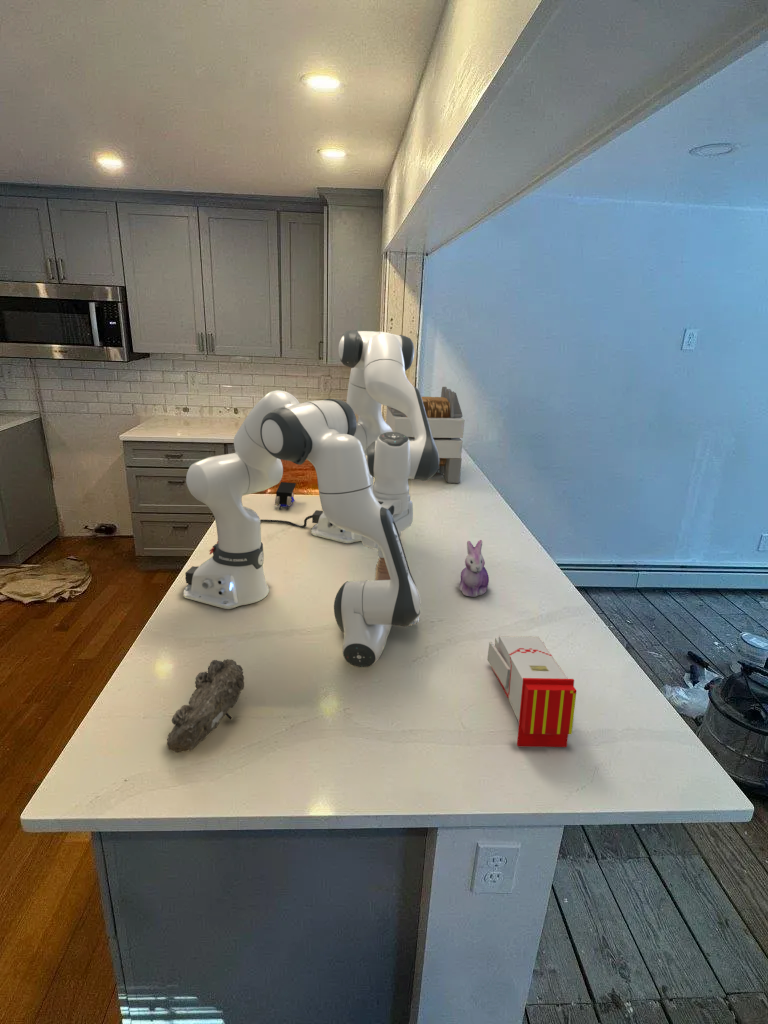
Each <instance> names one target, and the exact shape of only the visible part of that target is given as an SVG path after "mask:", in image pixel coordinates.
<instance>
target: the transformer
mask: <svg viewBox="0 0 768 1024" xmlns="http://www.w3.org/2000/svg"><path fill="white" fill-rule="evenodd" d="M440 393H441V394H440V396H421V398H422V401H423V404H424V407H425V411H426V415H427V419H428V423H429V426H430V430H431V434H432V437H433V440H434V442H435V445H436V447H437V451H438V454H439V468H438V471H439V473H440V474H441V475H443V478H444V479H445V481H446V482H447V483H449V484H455V483H456V484H459V483H461V472H462V461H463V460H462V453H463V442H464V441H463V440H462V439H463V438H464V431H465V430H464V429H465V419H464V418H463V411H462V408H461V405H460V402H459V398H458V395H457V392H455V391H453V390H452V389H451V388H447V386H442V387H441V392H440ZM385 414H386V415H385V422H386V423H387V424H388V425H389V426H390V427H391V429H392V431H393V432H397V433H401V434H404V435H405V436H407V437H408V438H409V441H415V438H414V434H413V430H412V426H411V423H410V420H409V418H408V417H407V416H406V415H405V414H404V413H402V412H400V411H398V410H396V409H394V408H391V407H388V406H386V413H385Z"/></svg>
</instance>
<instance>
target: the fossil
mask: <svg viewBox="0 0 768 1024" xmlns="http://www.w3.org/2000/svg"><path fill="white" fill-rule="evenodd" d="M243 670H244V669H243V667H242V665H240V664H237V662H236V661H235V660H234V659H232V658H231V659H227V658H226V659H224V660H223V661H222V660H217V659H212V660H211V661H210V663H209V665H208V666H207V671H201V672H199V673H198V674H197V675H196V676H195V680H194V684H195V685H194V687H195V689H194V690H193V693H192V694H191V697H190V698H189V700H188V704H184V705H182V706H181V707H180V709H177V710H176V711H175V713H174V715H173V716H172V718H171V723H172V724H173V727H172V730H171V731H170V732H168V734H167V738H166V741H167V742H166V745H167V749H168V750H169V751H173V752H174V753H176V754H178V753H182V752H188V751H189V752H192V751H193V750H195V748H196V747H197V746H199V744H200V743H201V742H203V741H204V740H205V739H206V738H207V737H208V736H209V735H210V734H211V733H212V732H214V730H215V729H217V727H218V726H219V724H220V722H221V721H222V720H223V719H224V718H225V716H226V717H227V719H229V720H233V717H232V715H230V714H229V710H230V709H231V708H234V706H235V704H236V703H237V702H238V699H239V697H240V695H241V693H242V691H243V690H245V689H244V688H245V675H244V671H243Z"/></svg>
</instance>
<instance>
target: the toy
mask: <svg viewBox="0 0 768 1024" xmlns="http://www.w3.org/2000/svg"><path fill="white" fill-rule="evenodd" d="M488 643H489V644H488V651H487V658H486V659H487V662H488V664H489V666H490V668H491V669H492V672H493V674H494V675H495V677H496V679H497V681H498V682H499V684H500V687H501V688H502V691H503V692H504V694H505V697H507V699H508V702H509V705H510V706H511V709H512V710H513V713H514V714H515V717H516V720H517V721H518V728H517V729H518V730H517V741H516V746H517V747H520V748H521V747H522V748H523V747H525V748H527V747H529V748H531V747H532V748H533V747H534V748H545V747H546V748H567V747H568V740H569V735H572V733H573V725H574V716H575V708H576V700H577V689H576V687H575V686H574V685H575V679H574V678H569V677H568V676H567V675H566V673H565V672H564V670H563V669H562V668H561V667H560V665H559V663H558V662H557V661H556V659H555V658H554V656H553V654H552V653H551V652H550V650H549V649H548V648H547V646H546V644H545V642H544V641H543V640H542V639H541V638H540V636H534V635H533V636H532V635H530V636H527V635H526V636H525V635H524V636H523V635H498V637H497V636H496V637H494V643H493V641H489V642H488Z"/></svg>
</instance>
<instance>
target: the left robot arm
mask: <svg viewBox="0 0 768 1024" xmlns="http://www.w3.org/2000/svg"><path fill="white" fill-rule="evenodd" d="M356 416H357V415H356V414H355V413H354V411H353V409H352V408H351V407H350V405H349V404H347V402H346V401H345V400H342V399H337V398H336V399H335V398H324V399H321V400H320V399H318V400H309V401H305V402H300V401H299V399H297V398H296V397H295V396H294V395H293V394H292V393H290V392H288V391H285V390H282V389H281V390H280V389H279V390H278V389H277V390H271V391H269V392H268V393H267V394H265V395H264V396H263V397H262V398H261V399H259V401H258V402H257V403H256V404H255V405H254V406H253V408H252V409H250V411H249V412H248V414H247V416H246V417H245V418H244V420H243V422H242V424H241V425H240V426H239V428H238V430H237V432H236V433H235V434H234V437H233V448H234V452H232V453H226V454H220V455H214V456H209V457H205V458H203V459H202V460H199V461H195V462H194V463H192V464H190V466H189V467H188V470H187V472H186V478H185V482H186V483H185V484H186V487H187V489H188V492H189V493H190V495H191V496H192V497H193V498H194V499H196V500H197V501H198V502H201V503H202V504H204V505H205V506H206V507H207V508H208V509H209V510H210V511H211V513H212V516H214V517H213V518H214V521H215V526H216V533H217V534H216V535H217V540H216V541H217V542H216V543H215V544H214V545H212V548H210V549H209V550H208V552H209V555H212V556H211V557H210V558H208V559H207V560H205V561H204V562H202V563H201V564H200V565H198V566H194V565H192V566H191V567H190V568H189V569H187V571H186V572H185V574H184V575H185V583H186V584H187V585H186V586H185V587H184V590H183V595H182V596H183V598H185V599H187V600H191V601H195V602H198V603H202V604H206V605H210V606H214V607H218V608H221V609H224V610H232V609H236V607H240V606H245V605H246V606H247V605H251V604H255V603H257V602H259V601H261V600H264V599H265V598H266V597H267V596H268V595H269V592H270V587H269V586H268V583H267V580H266V575H265V571H264V560H265V553H264V544H263V542H262V525H261V524H262V522H261V521H260V520H261V518H260V515H258V512H256V511H255V510H254V509H252V508H251V507H250V508H249V507H247V506H244V505H243V501H242V500H243V499H242V498H243V496H247V495H251V494H256V493H260V492H264V491H267V490H268V489H271V488H272V487H275V486H277V485H278V484H280V483H281V482H282V478H283V475H284V466H283V462H282V461H288V462H292V463H293V464H296V465H298V466H301V465H303V464H304V463H305V462H306V461H308V462H310V464H311V465H312V466H313V467H314V470H315V473H316V478H317V480H316V481H317V487H318V494H319V495H318V496H319V501H320V506H321V511H323V512H324V515H325V516H326V518H327V519H328V520H329V521H330V522H331V523H333V524H334V525H335V526H337V527H339V528H341V529H343V530H345V531H349V532H352V533H356V534H359V535H362V536H364V537H367V538H369V539H371V540H372V541H374V542H375V543H376V544H377V545H378V546H379V547H380V548H381V550H382V553H383V556H384V559H385V563H386V566H387V569H388V572H389V576H390V580H375V579H374V580H373V579H372V580H366V579H365V580H349V581H348V580H347V581H345V582H344V583H343V584H342V585H341V586H340V588H339V589H338V591H337V592H336V595H335V598H334V603H333V614H334V619H335V622H336V624H337V625H338V627H339V629H340V630H341V632H342V633H343V644H342V656H343V658H344V660H345V661H346V662H347V663H348V664H349V665H351V666H353V667H356V668H369V667H372V666H373V665H375V663H377V661H378V660H379V659H380V657H381V655H382V653H383V651H384V649H385V647H386V644H387V639H388V637H389V635H390V632H391V629H392V626H395V627H411V626H414V625H418V624H419V622H420V616H421V608H422V603H421V596H420V593H419V590H418V588H417V585H416V583H415V579H414V577H413V574H412V572H411V569H410V565H409V563H408V562H409V561H408V559H407V556H406V553H405V549H404V546H403V543H402V540H401V536H399V533H398V530H397V527H396V524H395V521H394V519H393V517H392V515H391V513H390V511H389V510H388V509H386V508H384V507H382V506H381V505H380V503H379V502H378V501H377V499H376V497H375V495H374V493H373V490H372V485H371V478H370V472H369V468H368V463H367V455H366V456H365V453H364V450H363V447H362V444H361V442H360V441H359V440H358V439H357V438H356V437H354V435H355V432H356V427H357V422H358V421H357V417H356Z"/></svg>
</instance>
